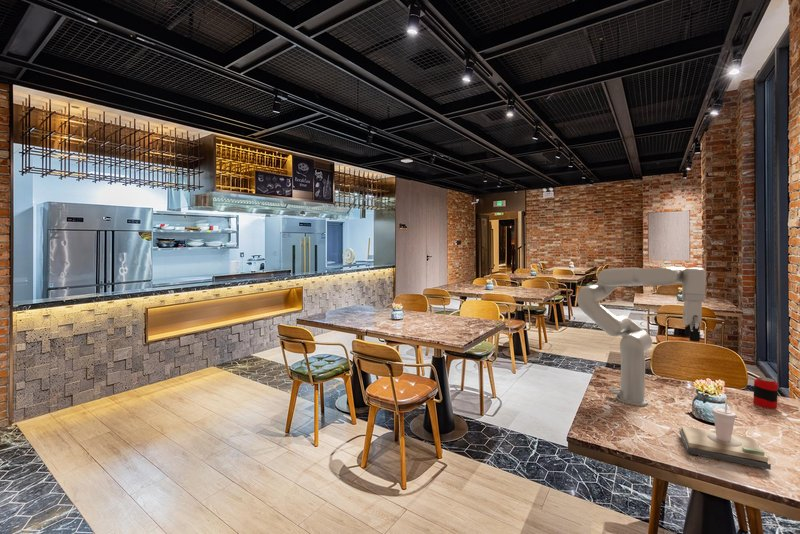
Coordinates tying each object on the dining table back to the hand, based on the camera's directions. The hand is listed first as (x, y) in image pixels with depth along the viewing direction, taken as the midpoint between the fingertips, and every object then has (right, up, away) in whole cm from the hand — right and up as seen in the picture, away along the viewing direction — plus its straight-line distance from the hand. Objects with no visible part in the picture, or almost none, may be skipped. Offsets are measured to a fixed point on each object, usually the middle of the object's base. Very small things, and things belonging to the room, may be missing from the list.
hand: (692, 338), depth 154 cm
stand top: (-10, -32, -26) cm, 42 cm away
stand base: (-10, -35, -26) cm, 44 cm away
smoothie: (-9, -30, -25) cm, 40 cm away
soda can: (+43, -33, +12) cm, 55 cm away
